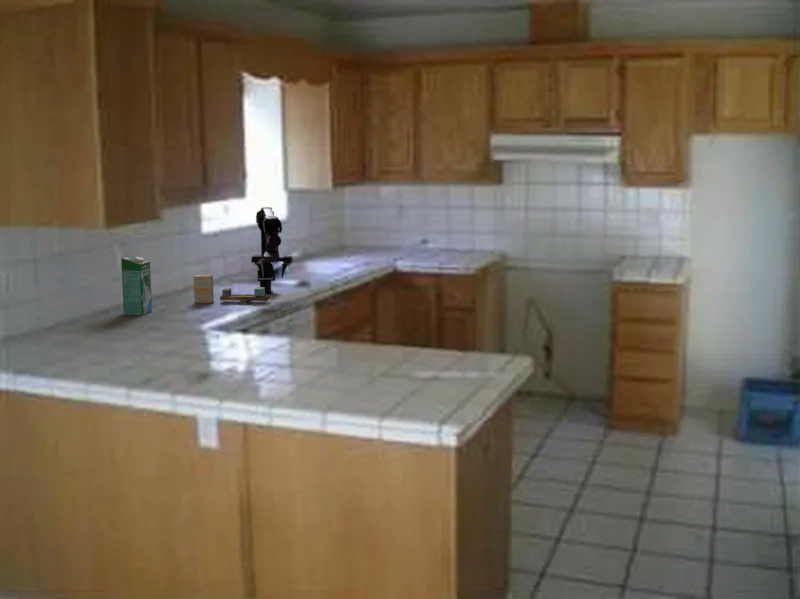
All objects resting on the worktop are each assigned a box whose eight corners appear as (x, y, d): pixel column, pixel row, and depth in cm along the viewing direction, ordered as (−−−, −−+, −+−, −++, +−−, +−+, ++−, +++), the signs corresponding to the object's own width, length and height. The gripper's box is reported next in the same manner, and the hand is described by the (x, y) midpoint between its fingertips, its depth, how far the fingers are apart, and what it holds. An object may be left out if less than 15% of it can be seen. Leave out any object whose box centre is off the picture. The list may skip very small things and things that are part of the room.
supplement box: (214, 302, 434) (213, 274, 431) (211, 303, 429) (210, 276, 427) (197, 301, 435) (196, 274, 432) (193, 303, 430) (192, 275, 428)
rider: (256, 297, 435) (256, 287, 434) (265, 298, 435) (264, 287, 434) (254, 299, 430) (254, 288, 429) (263, 300, 430) (262, 289, 429)
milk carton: (142, 315, 402) (140, 258, 397) (123, 314, 404) (120, 258, 399) (152, 311, 411) (149, 255, 406) (133, 310, 412) (130, 255, 408)
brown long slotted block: (224, 300, 438) (223, 287, 437) (270, 301, 437) (269, 288, 436) (219, 303, 429) (219, 290, 428) (266, 304, 428) (266, 291, 427)
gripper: (248, 246, 420) (249, 280, 423) (288, 247, 419) (289, 280, 422) (253, 243, 431) (254, 276, 434) (293, 243, 430) (293, 276, 433)
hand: (272, 277), depth 430 cm, fingers open, 9 cm apart
